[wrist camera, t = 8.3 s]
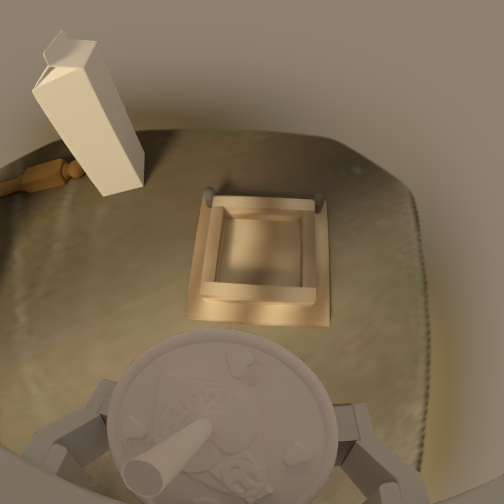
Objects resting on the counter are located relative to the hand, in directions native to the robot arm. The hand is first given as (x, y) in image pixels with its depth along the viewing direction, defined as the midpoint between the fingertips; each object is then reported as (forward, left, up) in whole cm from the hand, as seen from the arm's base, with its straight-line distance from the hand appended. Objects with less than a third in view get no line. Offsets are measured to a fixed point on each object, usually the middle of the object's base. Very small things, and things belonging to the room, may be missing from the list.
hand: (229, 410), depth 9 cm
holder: (0, +13, -19) cm, 23 cm away
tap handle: (-40, +23, -19) cm, 51 cm away
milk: (-19, +24, -19) cm, 36 cm away
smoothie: (0, -1, -7) cm, 7 cm away
